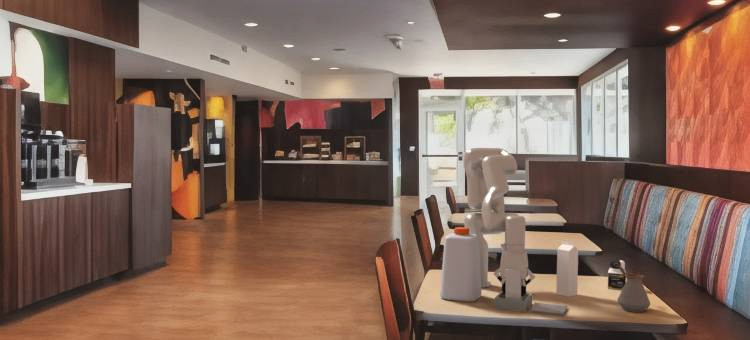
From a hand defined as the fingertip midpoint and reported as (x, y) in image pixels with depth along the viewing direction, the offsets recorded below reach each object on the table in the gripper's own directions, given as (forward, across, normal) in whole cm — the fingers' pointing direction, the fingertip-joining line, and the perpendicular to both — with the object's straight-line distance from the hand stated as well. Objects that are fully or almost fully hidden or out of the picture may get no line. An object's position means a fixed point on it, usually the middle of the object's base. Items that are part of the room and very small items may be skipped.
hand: (513, 294), depth 235 cm
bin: (+4, 0, 0) cm, 4 cm away
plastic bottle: (+5, -22, +4) cm, 23 cm away
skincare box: (+5, 0, 0) cm, 5 cm away
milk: (+5, +16, +28) cm, 33 cm away
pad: (+4, +13, 0) cm, 14 cm away
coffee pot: (+5, +40, +20) cm, 45 cm away
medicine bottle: (+5, +34, +51) cm, 61 cm away
